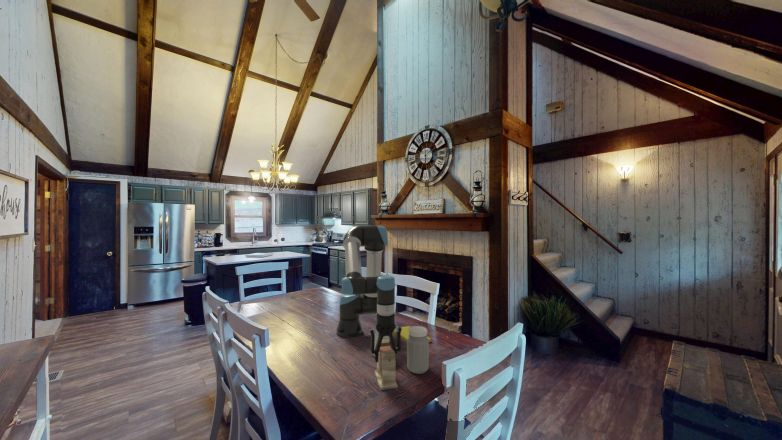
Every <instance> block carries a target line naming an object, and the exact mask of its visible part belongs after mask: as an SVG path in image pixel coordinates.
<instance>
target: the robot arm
mask: <svg viewBox="0 0 782 440" xmlns="http://www.w3.org/2000/svg"><path fill="white" fill-rule="evenodd" d="M388 245H389V240H388V233H387V229H386V227H385V226H384V225H375V224H374V225H356V226H353V227H351V228H350V229H348V230H347V232H346V233H345V235H344V236H343V240H342V247H343V249H344V260H345V261H344V263H345V264H344V265H345V266H344V267H345V268H344V269H345V277H342V278H341V295H340V297H339V303H338V304H339V320H338V324H337V327H336V335H337V336H339V337H342V338H355V337H359V336H360V335H362V333H363V326H362V323H361V320H360V315H376V325H375V327H373V328H372V327H370V328H369V333H370V348H369V349H370V353H371V354H372V355H373V354H375V356H374V361H375V363H376V369H377V368H378V371H380V353H379V350H380V346H381V342H382V339H383V336H389V343H390V346H391V348H392V350H393V351H394V352H395V354H396V355H397V354H398V352H401V350H402V349H401V348H402V346H401V345H402V344H401V343H402V342H401V341H402V339H401V335H400V333H401V330H402V328H401V327H402V326H401V325H396V324H395V323H396V322H395V321H396V319H395V318H396V316H395V315H396V314H395V310H396V309H395V308H396V307H395V305H396V304H395V301H396V300H395V299H396V298H395V297H396V294H395V292H396V283H395V281H396V280H395V277H394V276H392V275H389V274H387V275H385V274H382V255H383V251H384V250H385V247H388ZM361 247H364V251H366V271H365V272H366V274H365V276H363V272H362V263H361V262H362V261H361V249H360V248H361ZM395 329H396V335H395V337H396V343H395V340H394V335H393V334H394V333H393V331H394V330H395ZM376 330H377V331H378V332H379V335H378V340H377V344H376V348H375V350H374V345H375V335H374V334H375V333H376Z"/></svg>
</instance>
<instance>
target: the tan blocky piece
mask: <svg viewBox="0 0 782 440" xmlns="http://www.w3.org/2000/svg"><path fill="white" fill-rule="evenodd" d="M384 346H390V340H389V341H388V340H382V342H381V346H380V347H384ZM396 361H397V354H395V352H394V351H384V352H382V373H380V371H378V368H377V367H376V369H374V375H375V378H376V380H377V381H376V382H377V383H378V387H379V390H380V391H385V390H386V391H387V390H392V389H398V387H399V386H398V384H397V381H396V371H397V370H396V366H397V365H396Z"/></svg>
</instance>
